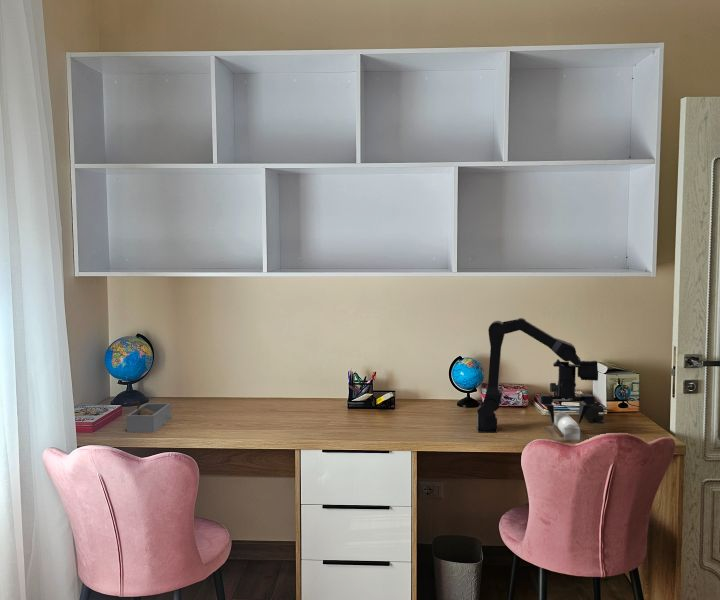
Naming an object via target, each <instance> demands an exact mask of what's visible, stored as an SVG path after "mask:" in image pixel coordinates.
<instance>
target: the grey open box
mask: <svg viewBox="0 0 720 600" xmlns="http://www.w3.org/2000/svg"><path fill="white" fill-rule="evenodd" d="M133 404H136V405H137V408H136V409H139V407H141V406H140V405H141V401H139V400H136V401H133V402H131V403H130V404H129V405H128V408H130V406H131V405H133ZM154 413H155V412H153V411H151V410H149V409H145V408H143V409H140V410H139V413H138V414H139V415H153V414H154ZM162 424H163V426H164V425H165V424H164V423H162Z"/></svg>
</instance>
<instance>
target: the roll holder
mask: <svg viewBox="0 0 720 600" xmlns="http://www.w3.org/2000/svg"><path fill="white" fill-rule="evenodd" d="M555 415H556V414H554V416H555ZM544 430H545V431H546V433H547V434H548V435H549V436H550V437H551V439H552V440H553V441H554V442H555V441H558V442H561V443H568V444H569V443H575V444H576V443H578V444H580V442H582V441H584V440H586V439H588V437H586V436H585V435H584V434H583V432H582V431H581V428H580V426H579V427H564V434H563V433H562V432H561V431H560V430H559V429H558V428H557V427H556V425H555V424H554V423H552V425H544ZM558 442H557V443H558Z"/></svg>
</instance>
